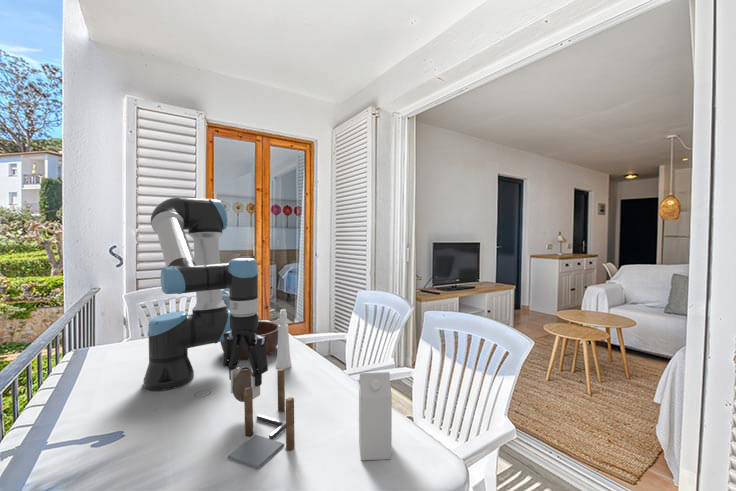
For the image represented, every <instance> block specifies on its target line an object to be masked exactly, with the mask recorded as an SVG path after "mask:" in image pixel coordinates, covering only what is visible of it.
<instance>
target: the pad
mask: <svg viewBox="0 0 736 491" xmlns="http://www.w3.org/2000/svg"><path fill="white" fill-rule="evenodd" d="M283 447H284V443H283V442H281V441H277V440H274V439H273V440H272V439H269V437H265V436H261V435H259V434H253V435H252V436H250V437H249V438H248V439H247V440H246V441H244V442H243V443H242V444H240V445H239V446H238V447H236V448H235V449H234V450H233V451H231V452H230V453H229V454H227V456H226V457H227V459H229V460H232V461H234V462H237V463H239V464H243V465H245V466H248V467H250V468H253V469H256V470H259V469H260V468H261V467H262V466H263V465H264V464H265V463H266V462H267V461H268V460H270V459H271V458H272V456H274V455H275V454H277V452H279V451H280V450H281V449H282V448H283Z"/></svg>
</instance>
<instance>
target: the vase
mask: <svg viewBox="0 0 736 491" xmlns="http://www.w3.org/2000/svg"><path fill="white" fill-rule="evenodd" d="M250 367H251V366H250ZM250 367H249V366H243V367H241V368H240V372H239V373H238V375H237V376H236V377H235V379H234V381H233V386H232V391H233V394H232V395H233V397H234V399H236V401H238V402H240V403H244V389H245V388H248V387H251V375H253V371H252V368H250Z"/></svg>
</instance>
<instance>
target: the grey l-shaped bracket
mask: <svg viewBox="0 0 736 491" xmlns="http://www.w3.org/2000/svg"><path fill="white" fill-rule="evenodd" d="M256 421H259V422H263V423H266V424H269V425H273V426H276V429H275V430H273V431H272V432H271V433H269V435H268V439H272V440H274V439H275V438H276V437H277V436H279V435H280V434H281V433H283V431H284V430H285V431H286V421H284V420H281V419H277V418H273V417H269V416H267V415H263V414H257V415H256Z"/></svg>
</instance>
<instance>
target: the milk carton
mask: <svg viewBox="0 0 736 491" xmlns="http://www.w3.org/2000/svg"><path fill="white" fill-rule="evenodd" d="M390 379H391V376H390V371H381V372H380V371H378V372H360V373H359V379H358V380H359V381H358V445H359V455H360V456H359V457H360V461H373V460H374V461H377V460H392V444H393V443H392V442H393V440H392V439H393V438H392V437H393V435H392V434H393V431H392V423H393V422H392V420H393V419H392V418H393V417H392V416H393V414H392V410H393V408H392V407H393V406H392V405H393V404H392V402H393V401H392V399H393V397H392V396H393V395H392V394H393V393H392V386H391V380H390Z"/></svg>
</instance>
